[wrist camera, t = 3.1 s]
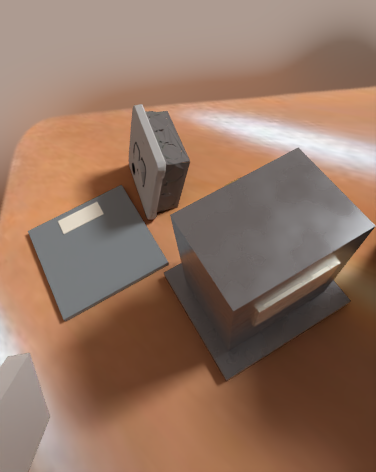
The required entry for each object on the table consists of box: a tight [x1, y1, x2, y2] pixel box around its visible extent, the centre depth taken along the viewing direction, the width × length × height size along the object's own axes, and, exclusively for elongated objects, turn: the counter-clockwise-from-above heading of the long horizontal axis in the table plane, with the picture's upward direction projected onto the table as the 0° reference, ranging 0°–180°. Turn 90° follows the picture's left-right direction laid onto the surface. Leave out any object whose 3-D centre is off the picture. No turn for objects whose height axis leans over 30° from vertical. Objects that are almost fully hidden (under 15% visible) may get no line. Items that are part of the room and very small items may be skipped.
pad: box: [28, 185, 169, 321], centre depth 40 cm, size 12×12×1 cm
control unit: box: [164, 148, 375, 381], centre depth 30 cm, size 14×12×14 cm
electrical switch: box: [129, 104, 190, 219], centre depth 40 cm, size 9×5×9 cm, turn 19°
